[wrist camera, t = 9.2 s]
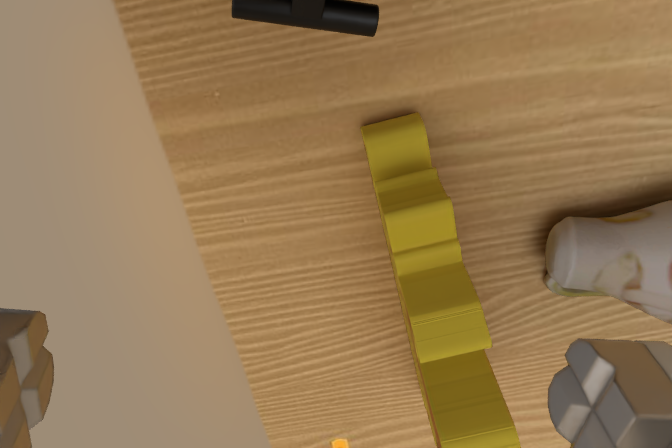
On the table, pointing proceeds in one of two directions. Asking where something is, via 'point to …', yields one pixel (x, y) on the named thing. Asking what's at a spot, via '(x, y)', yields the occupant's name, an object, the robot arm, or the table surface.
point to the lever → (312, 14)
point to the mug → (615, 258)
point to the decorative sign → (436, 291)
